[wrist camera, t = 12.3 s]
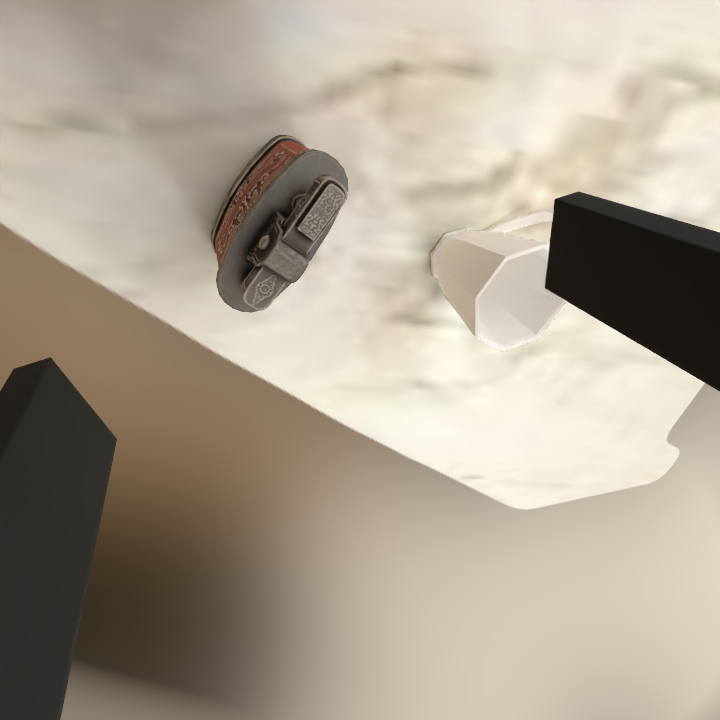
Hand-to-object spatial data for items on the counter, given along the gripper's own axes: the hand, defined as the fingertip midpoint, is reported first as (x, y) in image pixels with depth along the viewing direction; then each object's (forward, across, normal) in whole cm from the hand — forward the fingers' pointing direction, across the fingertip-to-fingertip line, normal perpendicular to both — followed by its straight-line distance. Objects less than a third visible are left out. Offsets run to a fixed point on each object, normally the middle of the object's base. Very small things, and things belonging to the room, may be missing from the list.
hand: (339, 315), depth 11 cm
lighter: (+17, 0, -1) cm, 17 cm away
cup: (+17, +14, -8) cm, 23 cm away
